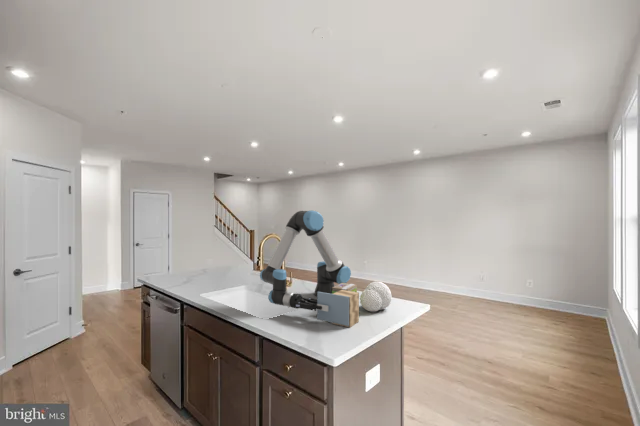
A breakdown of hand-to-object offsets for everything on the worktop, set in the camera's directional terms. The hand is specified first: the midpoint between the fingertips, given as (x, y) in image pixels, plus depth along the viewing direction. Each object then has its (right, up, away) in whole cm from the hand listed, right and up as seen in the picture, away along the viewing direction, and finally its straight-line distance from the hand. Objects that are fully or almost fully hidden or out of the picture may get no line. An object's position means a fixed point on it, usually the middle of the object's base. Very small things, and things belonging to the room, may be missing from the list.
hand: (330, 307), depth 152 cm
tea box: (+9, -8, +20) cm, 23 cm away
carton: (+8, -8, +1) cm, 11 cm away
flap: (+1, -7, -1) cm, 7 cm away
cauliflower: (+28, -9, +23) cm, 37 cm away
